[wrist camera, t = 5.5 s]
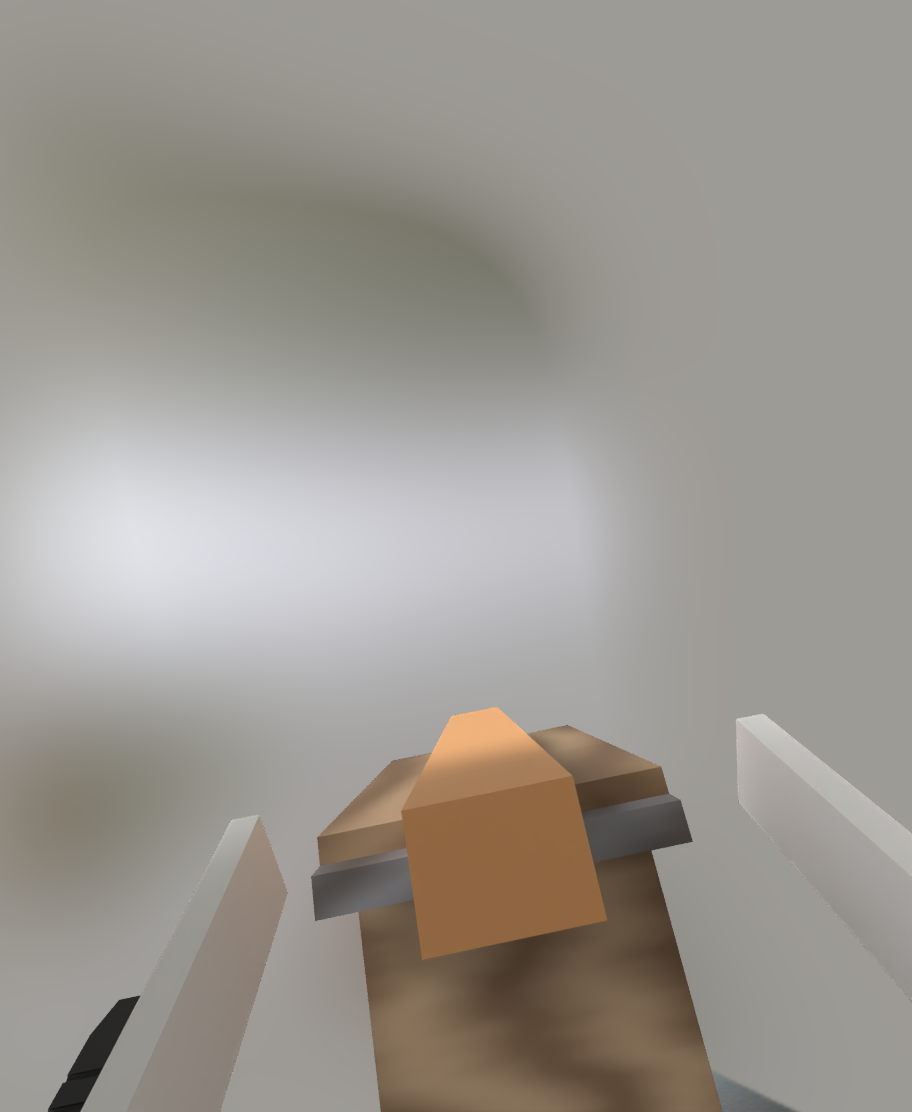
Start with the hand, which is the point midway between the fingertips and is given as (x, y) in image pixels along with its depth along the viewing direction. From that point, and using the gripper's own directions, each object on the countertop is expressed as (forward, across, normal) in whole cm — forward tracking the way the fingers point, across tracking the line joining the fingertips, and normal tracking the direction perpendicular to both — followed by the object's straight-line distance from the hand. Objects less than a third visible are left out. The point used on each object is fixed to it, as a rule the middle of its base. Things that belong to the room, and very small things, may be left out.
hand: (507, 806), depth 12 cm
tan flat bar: (+7, 0, -6) cm, 9 cm away
